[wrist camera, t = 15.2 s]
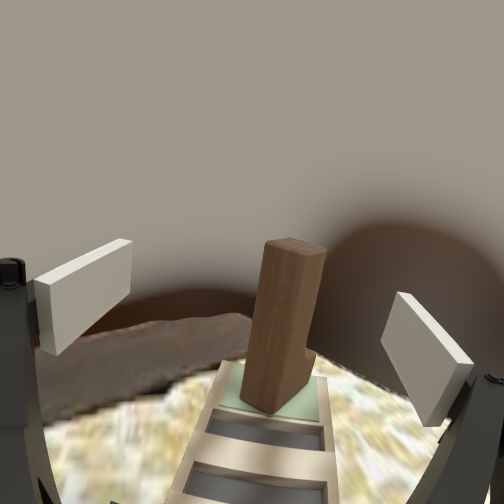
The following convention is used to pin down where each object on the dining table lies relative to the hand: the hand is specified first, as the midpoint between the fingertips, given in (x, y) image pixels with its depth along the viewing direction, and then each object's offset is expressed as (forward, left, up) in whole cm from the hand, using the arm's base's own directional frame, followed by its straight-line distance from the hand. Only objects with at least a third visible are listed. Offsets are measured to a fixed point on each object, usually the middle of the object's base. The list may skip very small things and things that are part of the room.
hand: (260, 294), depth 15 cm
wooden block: (+3, +17, -18) cm, 26 cm away
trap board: (+3, +10, -21) cm, 23 cm away
